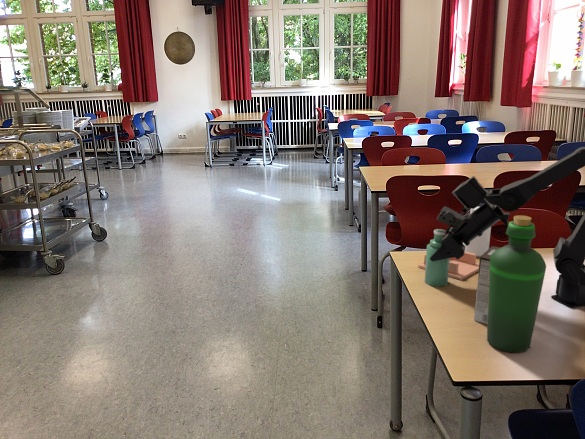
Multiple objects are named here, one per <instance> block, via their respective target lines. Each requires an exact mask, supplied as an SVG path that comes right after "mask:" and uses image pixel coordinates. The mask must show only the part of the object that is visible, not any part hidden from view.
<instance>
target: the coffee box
mask: <svg viewBox="0 0 585 439" xmlns="http://www.w3.org/2000/svg"><path fill="white" fill-rule="evenodd" d="M499 248H501V247H499V246H495V245H494V246H493V245H491V247H489V249H488V250H487V251H486V252H485V253H484V254H483V255H481V256H480V257H479V262H478V263H479V271H477V273H478V274H477V284H476V294H475V295H476V297H475V306H474V316H473V321H475V322H478V323H482V324H484V325H488V299H489V272H490V256H491V255H492V254H493V253H494V251H495V250H497V249H499Z"/></svg>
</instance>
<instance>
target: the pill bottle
mask: <svg viewBox="0 0 585 439" xmlns="http://www.w3.org/2000/svg"><path fill="white" fill-rule="evenodd" d="M479 207H480V206H477V207H476V208H474V209H472V208H471V209H470V210H469V211H470V212H469V214H471V213H472V212H473V211H475V210H476V209H477V208H479ZM491 230H492V226H491V227H490V228H488V229H487V230H486V231H484V232H483V235H481V236H480V237H479V236H477V237H476V238H475V239H473V240H472V241H470V244H469V245H468V246H466V245H465V244H464V243H463V244H464V246H465V252H469V253H473V254H476V258H477V257H479V258H480V256H481V255H483V254H484V253H485V252H486V251H487V250H488V249H490V242H491V241H490V240H491Z"/></svg>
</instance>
